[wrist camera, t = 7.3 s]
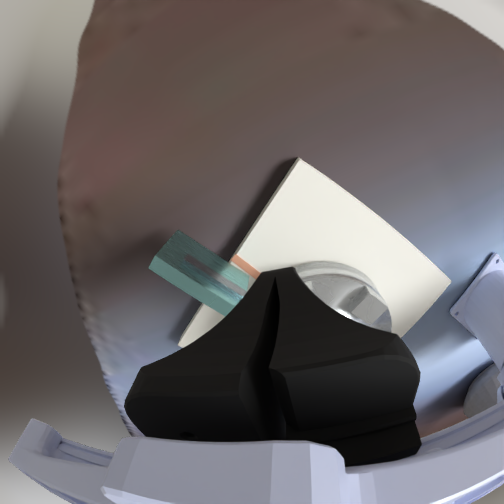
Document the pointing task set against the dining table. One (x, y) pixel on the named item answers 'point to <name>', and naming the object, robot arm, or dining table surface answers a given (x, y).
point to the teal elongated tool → (236, 282)
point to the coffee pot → (482, 392)
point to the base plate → (332, 248)
